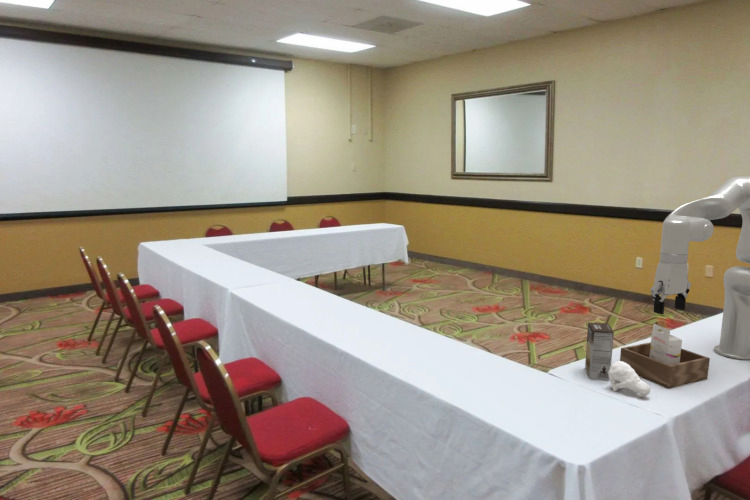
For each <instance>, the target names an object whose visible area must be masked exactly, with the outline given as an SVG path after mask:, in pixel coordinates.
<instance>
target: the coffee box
mask: <svg viewBox="0 0 750 500" xmlns="http://www.w3.org/2000/svg"><path fill="white" fill-rule="evenodd" d="M586 335H587V336H586V350H585V361H584V362H585V364H584V369H585V371H586V373H587V376H588V378H589V380H599V381H610V380H609V374H608V371H609V370H610V366H611V365H612V357H613V348H614V335H615V332H614V330H613V329H612V327H611V325H610V324H609V322H608V323H607V322H605V323H603V322H588V323H587V334H586Z"/></svg>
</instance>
